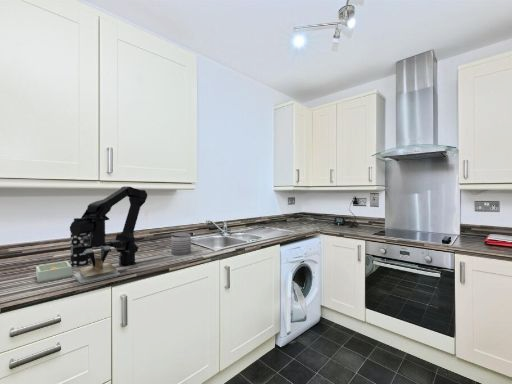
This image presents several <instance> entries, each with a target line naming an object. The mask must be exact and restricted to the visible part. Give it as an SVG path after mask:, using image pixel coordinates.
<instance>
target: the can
mask: <svg viewBox="0 0 512 384" xmlns="http://www.w3.org/2000/svg"><path fill="white" fill-rule="evenodd" d="M170 238H171V244H170V245H171V247H170V248H171V252H170V253H171V255H172V256H175V257H182V256H188V255H190V254H191V252H192V251H191V249H192V245H191V242H192V239H191V238H192V234H191V233H187V232H172V233H171V237H170Z"/></svg>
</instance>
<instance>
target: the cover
mask: <svg viewBox="0 0 512 384" xmlns="http://www.w3.org/2000/svg"><path fill="white" fill-rule="evenodd" d="M94 258H95V267H93V265H89V266H82V267H79V268H78V271H79V273H81V274H82V275H83V276H84V277H87V276H92V275H97V274H101V273H106V272H111V271H116V270H117V268H116V266H114V265H113V264H111V263H110V262H103V260H102V259H101V257H94ZM117 271H118V270H117Z"/></svg>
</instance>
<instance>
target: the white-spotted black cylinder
mask: <svg viewBox="0 0 512 384" xmlns="http://www.w3.org/2000/svg"><path fill="white" fill-rule="evenodd" d="M83 236H88V237H89V236H90V233H85V234H80V235H73V234H72V233H71V232H70V248H71V247H72V246H75V245H83V246H90V245H88V243H84V244H83ZM90 264H92V263H91V260H90V258H89V256H88V255H86V254H84V252H83V253H82V254H76V255H73V254H72V253H71V252H70V265H71V266H72V267H85V266H87V265H90Z"/></svg>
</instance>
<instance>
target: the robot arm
mask: <svg viewBox="0 0 512 384" xmlns="http://www.w3.org/2000/svg"><path fill="white" fill-rule="evenodd" d="M126 197H128V201H129V205H130V206H129V209H128V211H127V216H126V218H125V222H124V225H123V228H122V231H121V233H117V234H116V236H115V240H110V241H109V242H108V243H107V242H106V235H107V234H106V221H109V220H110V218H109V217H108V216H107V215H108V213H109V212H111V210H112V207H113V206H115V205H116V204H118V203H119V202H121V201H122V200H124V199H125V198H126ZM147 198H148V193H147V192H146V190H144V189H138V188H135V187H132V186H121V188H119V189H118V190H116V191H115V192H113V193H112V194H110V195H108V196H107V197H105V198H104V199H100V200H97V201H94V202H90V203H89V204H88V205H87V208H86V210H85V211H84V212H83V214H82V215H81V217H80V218H79V217H76V218H73V221H72V222H71V224H70V226H69V231H70V234H71V233H72V234H73V235H80V234H85V233H90V236H89V237H88V236H83V244H84V243H88V245H90V246H83V245H75V246H72V247H71V246H70V254H71V253H72V254H73V255H76V254H82V253H83V252H84V254H86V255H88V256H89V258H90V260H91V263H90V264H91V266H93V267H95V258H96V257H95V252H94V250H99V249H100V259H102V260H103V263H105V261H106V258H107V256H108V254H109V253H110V252H111V251H112V249H111V248H114V249H116V252H117V253H119V255H118V264H119V265H121V267H126V266H130V265H131V266H132V265H135V264H137V262H136V253H137V252H138V251H139V247H138V245H137V244H136V243H135V240H136V239H135V235H134V232H135V228H136V225H137V221H138V217H139V213H140V210H141V207H142V206H143V205H144V204H145V203H146V201H147Z"/></svg>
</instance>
